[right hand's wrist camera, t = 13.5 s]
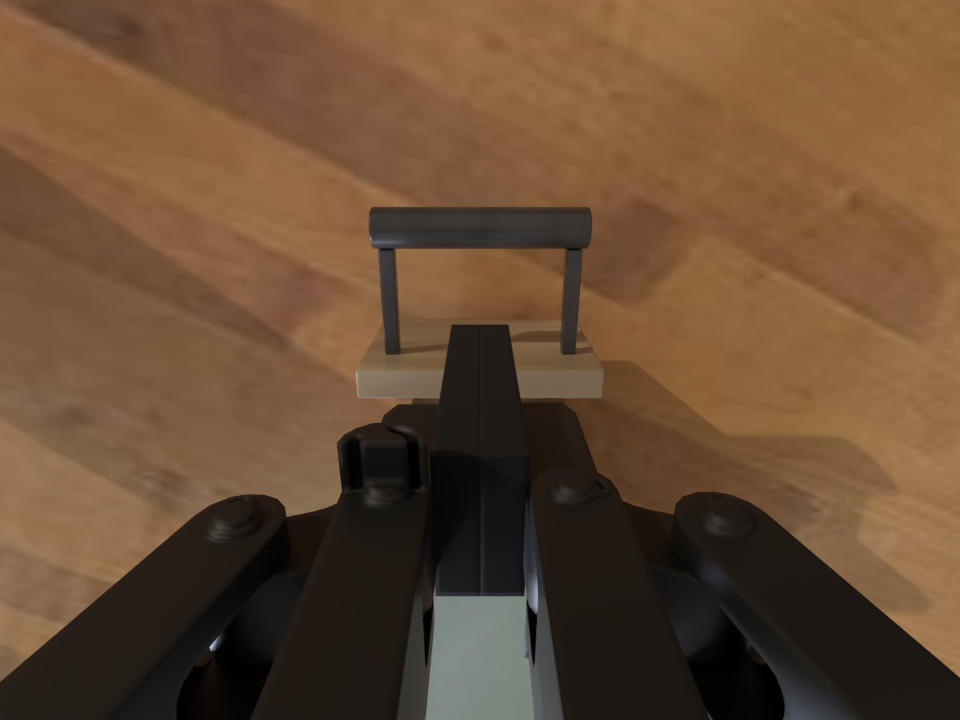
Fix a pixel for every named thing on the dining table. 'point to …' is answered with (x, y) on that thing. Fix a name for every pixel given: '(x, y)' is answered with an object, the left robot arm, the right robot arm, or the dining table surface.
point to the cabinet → (479, 660)
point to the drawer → (535, 342)
